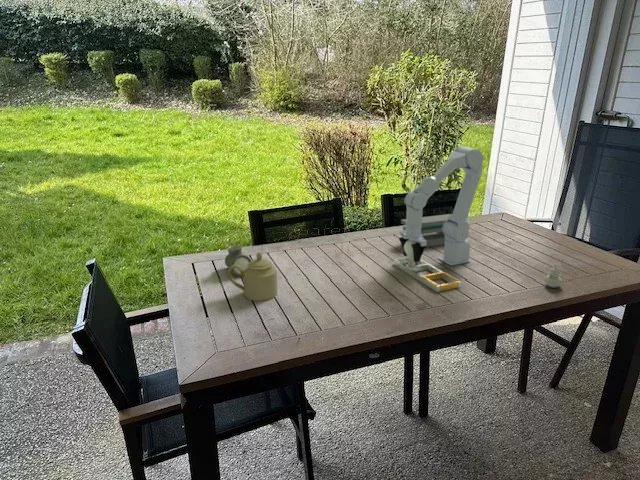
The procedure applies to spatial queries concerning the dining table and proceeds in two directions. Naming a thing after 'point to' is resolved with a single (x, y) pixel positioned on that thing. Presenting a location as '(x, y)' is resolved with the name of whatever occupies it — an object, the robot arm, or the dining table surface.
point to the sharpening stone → (432, 229)
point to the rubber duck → (553, 278)
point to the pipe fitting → (236, 260)
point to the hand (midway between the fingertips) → (411, 258)
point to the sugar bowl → (257, 279)
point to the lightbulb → (409, 252)
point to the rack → (428, 278)
